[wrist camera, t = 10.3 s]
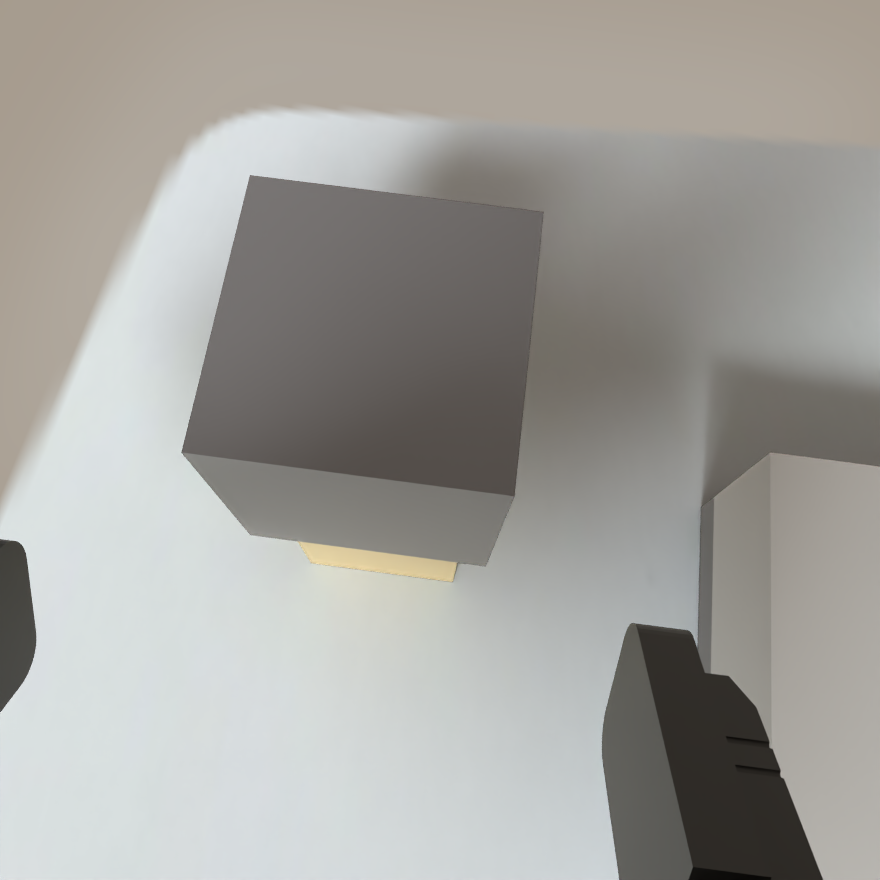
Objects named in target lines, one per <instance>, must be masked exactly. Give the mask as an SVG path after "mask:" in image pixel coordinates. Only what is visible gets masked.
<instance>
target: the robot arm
mask: <svg viewBox="0 0 880 880" xmlns="http://www.w3.org/2000/svg"><path fill="white" fill-rule="evenodd" d="M35 648H36V629H35V621H34V613H33V605H32V597H31V589H30V581H29V573H28V565H27V558H26V553H25V550H24V548H23V546H22V545H21V544H20V543H19V542H17V541H10V540H2V539H0V712H1V711H2V709H3V708H4V707H5V705H6V704H7V703H8V702H9V700H10V699H11V698H12V696H13V695H14V694H15V692H16V691H17V690H18V688H19V687H20V686H21V684H22V683H23V681H24V680H25V678H26V676H27V674H28V672H29V670H30V667H31V664H32V661H33V658H34V653H35ZM769 743H770V741H769V738H768V736H767V733H766V731H765V728H764V725H763V723H762V720H761V718H760V715H759V713H758V710H757V707H756V706H755V705H754V704H753V703H752V702H751V701H750V699H749V698H748V697H747V696H746V695H745V694H744V693H743V692H742V690H741V689H740V688H739V687H738V686H737V685H736V684H735V682H734V681H733V680H732V679H731V678H730V677H729V676H726V675H718V674H710V673H705V671H704V668H703V665H702V662H701V659H700V656H699V653H698V650H697V647H696V644H695V641H694V638H693V635H692V634H691V632H690V631H688V630H681V629H673V628H665V627H658V626H650V625H642V624H635V623H632V624H630V625H629V627H628V629H627V631H626V634H625V637H624V641H623V645H622V649H621V653H620V657H619V661H618V664H617V668H616V672H615V676H614V680H613V684H612V688H611V692H610V696H609V700H608V704H607V707H606V712H605V717H604V724H603V734H602V759H603V767H604V774H605V781H606V788H607V795H608V802H609V810H610V817H611V824H612V831H613V838H614V845H615V852H616V859H617V866H618V873H619V880H823V878H822V875H821V873H820V870H819V868H818V865H817V862H816V860H815V857H814V855H813V852H812V850H811V847H810V844H809V842H808V839H807V837H806V834H805V831H804V829H803V826H802V824H801V821H800V819H799V816H798V813H797V811H796V808H795V806H794V803H793V800H792V798H791V795H790V793H789V790H788V788H787V785H786V782H785V780H784V778H781V775H780V773H781V769H780V767H779V764H778V762H777V759H776V757H775V754H774V751H773V749H771V748H770V747H769Z"/></svg>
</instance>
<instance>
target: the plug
mask: <svg viewBox="0 0 880 880" xmlns="http://www.w3.org/2000/svg"><path fill="white" fill-rule="evenodd" d="M543 213H544V212H539V211H531V210H523V209H515V208H507V207H499V206H492V205H484V204H476V203H468V202H460V201H452V200H444V199H436V198H428V197H420V196H412V195H404V194H396V193H388V192H380V191H372V190H364V189H356V188H348V187H340V186H332V185H324V184H316V183H308V182H300V181H292V180H284V179H276V178H268V177H260V176H252V175H250V177H249V182H248V186H247V190H246V194H245V198H244V202H243V206H242V210H241V214H240V218H239V222H238V226H237V230H236V234H235V238H234V242H233V246H232V250H231V254H230V258H229V262H228V266H227V270H226V275H225V279H224V283H223V287H222V291H221V295H220V299H219V303H218V307H217V311H216V315H215V319H214V323H213V327H212V331H211V335H210V339H209V343H208V347H207V351H206V355H205V359H204V364H203V368H202V372H201V376H200V380H199V384H198V388H197V392H196V396H195V400H194V404H193V408H192V412H191V416H190V420H189V424H188V428H187V432H186V436H185V440H184V444H183V448H182V452H181V453H182V454H183V455H184V456H185V457H186V459H187V460H188V461H189V462H190V463H191V465H192V466H193V467H194V468H195V469H196V471H197V472H198V473H199V474H200V475H201V477H202V478H203V479H204V480H205V481H206V482H207V484H208V485H209V486H210V487H211V488H212V490H213V491H214V492H215V493H216V494H217V496H218V497H219V498H220V499H221V500H222V502H223V503H224V504H225V505H226V506H227V508H228V509H229V510H230V511H231V512H232V514H233V515H234V516H235V517H236V518H237V520H238V521H239V522H240V523H241V524H242V526H243V527H244V528H245V529H246V530H247V532H248V533H249V534H250V535H254V536H262V537H269V538H277V539H284V540H292V541H298V542H299V544H300V546H301V547H302V549H303V550H304V552H305V554H306V555H307V557H308V559H309V560H310V562H311V563H314V564H322V565H329V566H337V567H344V568H352V569H359V570H367V571H374V572H382V573H389V574H396V575H404V576H411V577H419V578H426V579H434V580H441V581H449V582H453V579H454V574H455V570H456V566H457V563H464V564H472V565H479V566H486V564H487V562H488V560H489V557H490V555H491V552H492V550H493V547H494V545H495V542H496V540H497V538H498V535H499V533H500V530H501V528H502V525H503V523H504V520H505V518H506V516H507V513H508V511H509V508H510V506H511V503H512V501H513V498H514V495H515V485H516V475H517V466H518V456H519V446H520V436H521V427H522V417H523V407H524V397H525V388H526V378H527V368H528V359H529V349H530V339H531V329H532V320H533V310H534V300H535V290H536V281H537V271H538V261H539V252H540V242H541V232H542V222H543Z"/></svg>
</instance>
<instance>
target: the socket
mask: <svg viewBox="0 0 880 880" xmlns="http://www.w3.org/2000/svg"><path fill="white" fill-rule="evenodd" d="M698 653H699V656H700V659H701V662H702V665H703V668H704V671H705V673H710V674H718V675H726V676H729V677H730V678H731V679H732V680H733V681H734V682H735V684H736V685H737V686H738V687H739V688H740V689H741V690H742V692H743V693H744V694H745V695H746V696H747V697H748V698H749V699H750V701H751V702H752V703H753V704H754V705H755V706H756V707H757V710H758V713H759V715H760V718H761V720H762V723H763V725H764V728H765V731H766V733H767V736H768V738H769V741H770V743H769V747H770V748H771V749H773V751H774V754H775V757H776V759H777V762H778V764H779V767H780V769H781V773H780V775H781V778H784V780H785V782H786V785H787V788H788V790H789V793H790V795H791V798H792V800H793V803H794V806H795V808H796V811H797V813H798V816H799V819H800V821H801V824H802V826H803V829H804V831H805V834H806V837H807V839H808V842H809V844H810V847H811V850H812V852H813V855H814V857H815V860H816V862H817V865H818V868H819V870H820V873H821V875H822V878H823V880H880V466H873V465H865V464H857V463H850V462H842V461H834V460H827V459H819V458H811V457H804V456H796V455H788V454H781V453H773V452H770V453H769V454H767V455H766V456H765V457H764V458H762V459H761V460H760V461H759V462H757V463H756V464H755V465H754V466H752V467H751V468H750V469H749V470H747V471H746V472H745V473H743V474H742V475H741V476H740V477H738V478H737V479H736V480H735V481H733V482H732V483H731V484H730V485H728V486H727V487H726V488H725V489H723V490H722V491H721V492H720V493H718V494H717V495H716V496H715V497H713V498H712V499H711V500H710V501H708V502H707V503H706V504H705V505H703V506H702V507H701V538H700V579H699V620H698Z"/></svg>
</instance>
